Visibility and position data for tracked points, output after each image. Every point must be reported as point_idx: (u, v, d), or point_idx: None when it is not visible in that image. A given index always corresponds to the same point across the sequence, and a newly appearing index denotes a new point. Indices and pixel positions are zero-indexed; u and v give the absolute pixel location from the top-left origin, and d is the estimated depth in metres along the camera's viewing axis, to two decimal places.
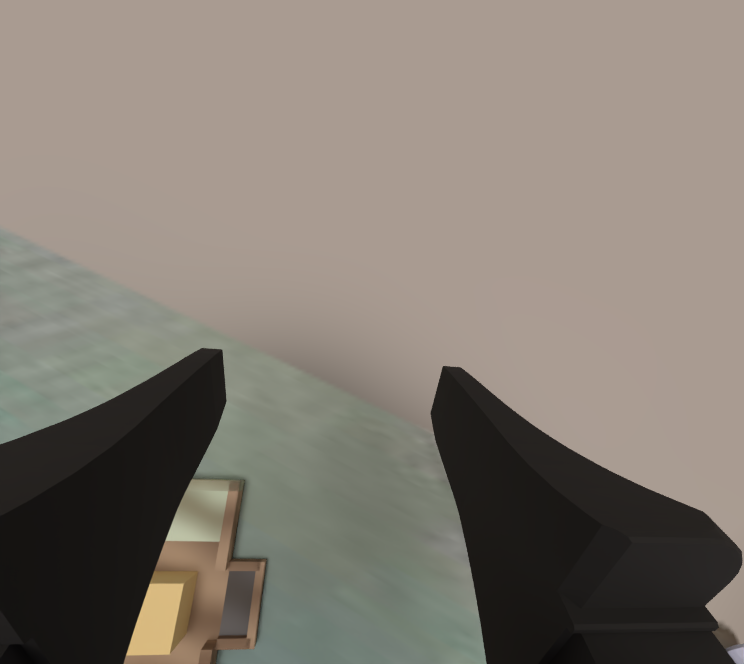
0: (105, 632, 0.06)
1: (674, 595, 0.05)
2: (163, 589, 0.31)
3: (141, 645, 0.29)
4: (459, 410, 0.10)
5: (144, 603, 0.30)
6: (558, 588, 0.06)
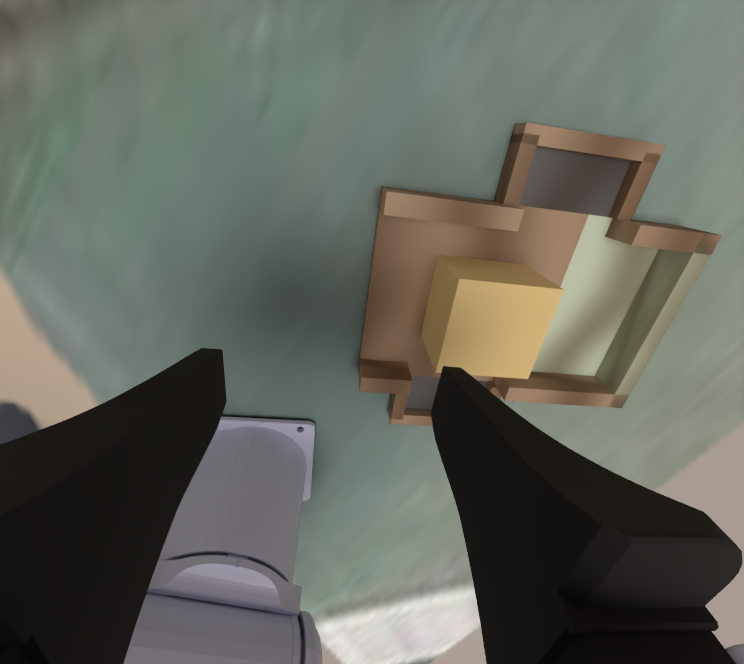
0: (105, 632, 0.06)
1: (674, 595, 0.05)
2: (530, 351, 0.17)
3: (459, 331, 0.16)
4: (459, 410, 0.10)
5: (519, 326, 0.17)
6: (558, 588, 0.06)
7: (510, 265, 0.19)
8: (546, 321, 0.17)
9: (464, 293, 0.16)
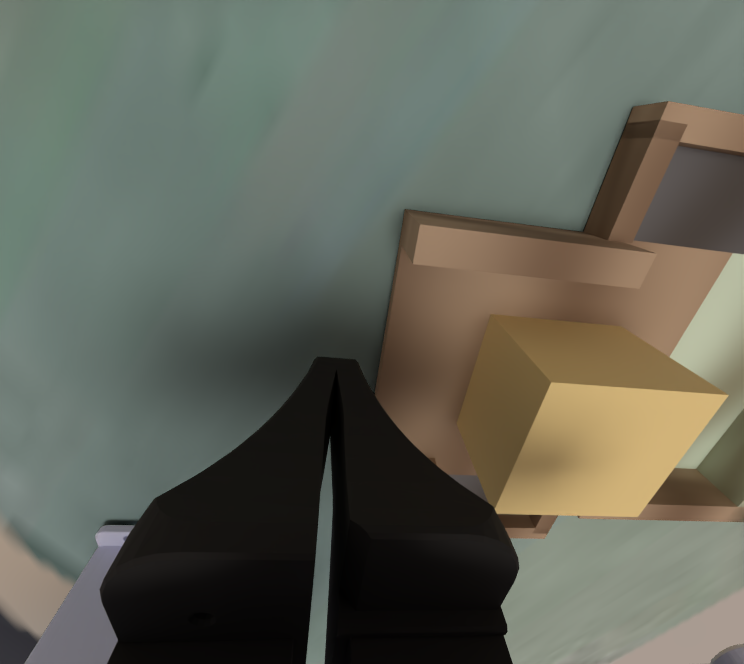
0: None
1: (456, 596, 0.05)
2: (649, 482, 0.10)
3: (538, 459, 0.10)
4: (336, 403, 0.09)
5: (640, 449, 0.10)
6: (341, 589, 0.05)
7: (604, 331, 0.12)
8: (686, 441, 0.10)
9: (556, 404, 0.09)
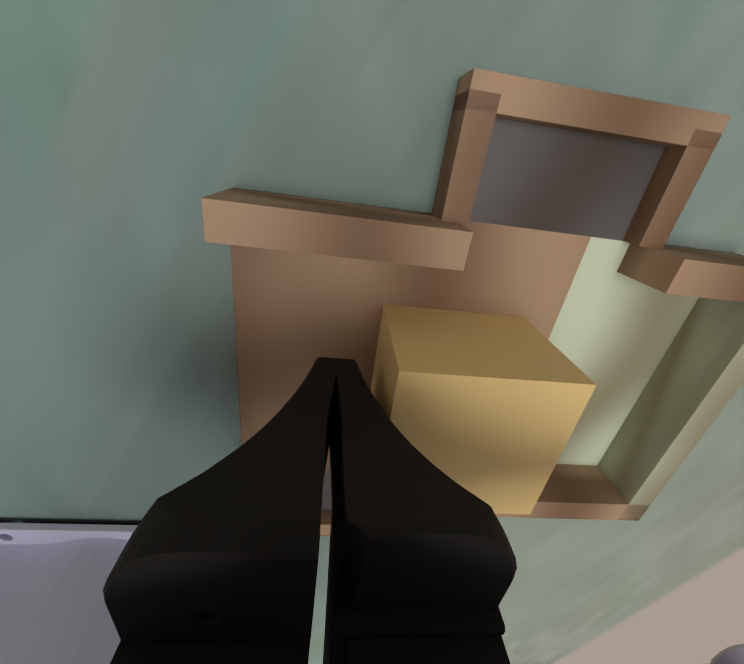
0: None
1: (453, 596, 0.05)
2: (534, 478, 0.10)
3: None
4: (335, 403, 0.09)
5: (515, 443, 0.09)
6: (339, 589, 0.05)
7: (500, 321, 0.11)
8: (562, 434, 0.09)
9: (410, 394, 0.08)
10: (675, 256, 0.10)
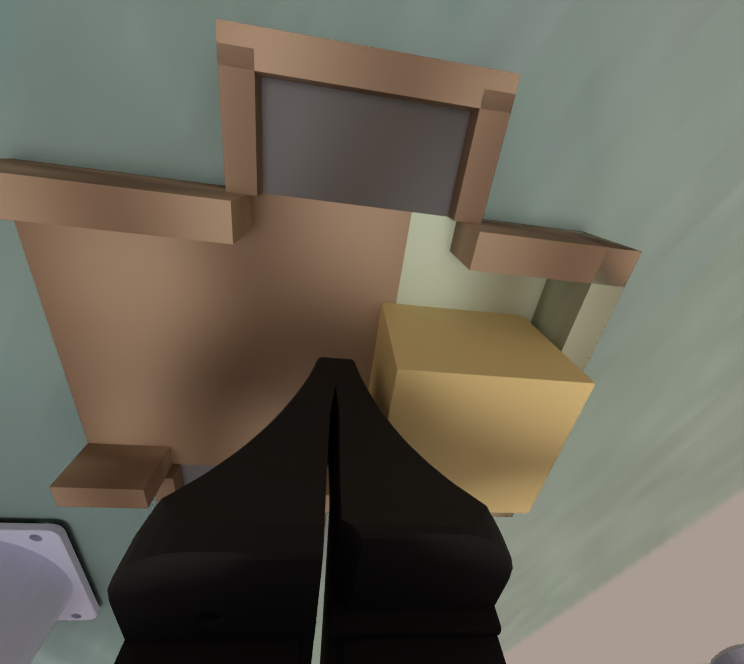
0: None
1: (449, 596, 0.05)
2: (532, 476, 0.10)
3: None
4: (333, 403, 0.09)
5: (513, 441, 0.09)
6: (334, 589, 0.05)
7: (499, 320, 0.11)
8: (561, 432, 0.09)
9: (409, 393, 0.08)
10: (476, 229, 0.09)
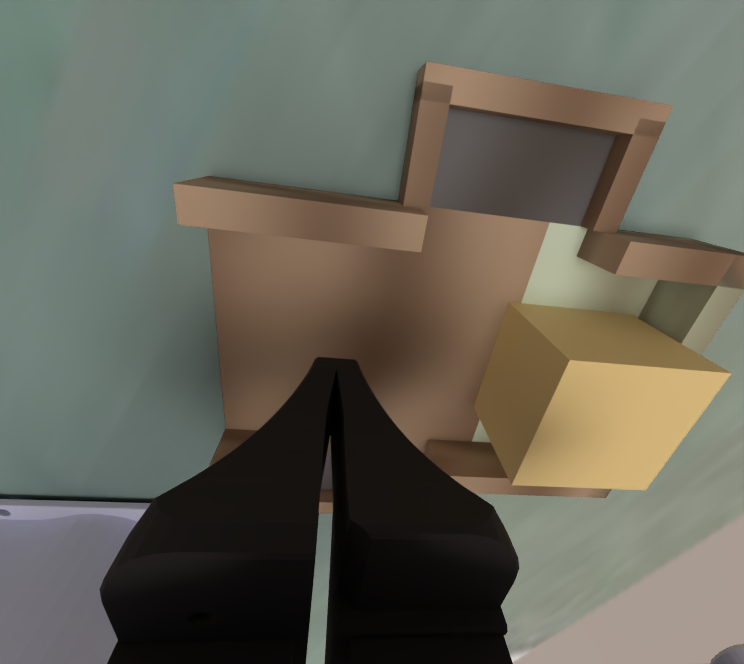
0: None
1: (456, 596, 0.05)
2: (657, 456, 0.11)
3: (555, 433, 0.11)
4: (337, 403, 0.09)
5: (649, 424, 0.11)
6: (341, 589, 0.05)
7: (615, 318, 0.13)
8: (692, 416, 0.11)
9: (573, 380, 0.10)
10: (623, 239, 0.10)
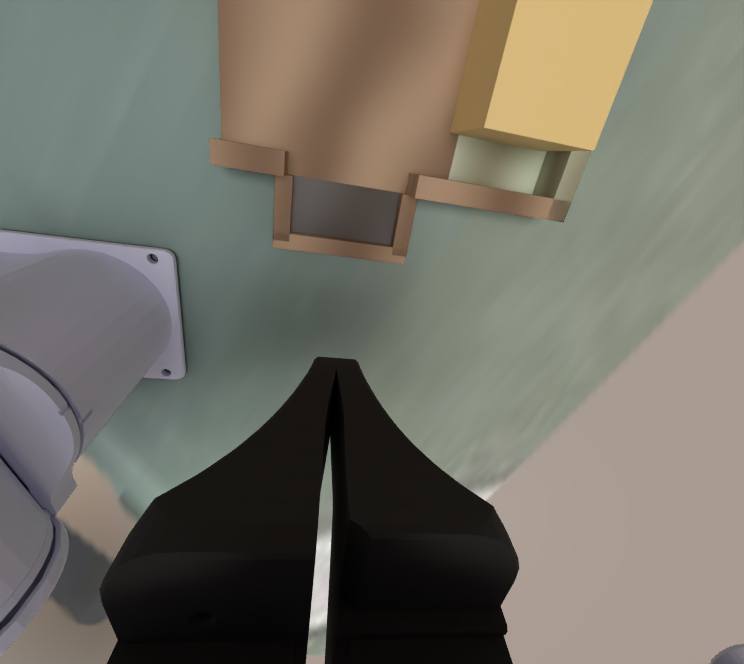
0: None
1: (456, 596, 0.05)
2: (602, 102, 0.14)
3: (520, 55, 0.12)
4: (336, 403, 0.09)
5: (594, 55, 0.13)
6: (341, 589, 0.05)
7: None
8: (627, 49, 0.13)
9: None
10: None
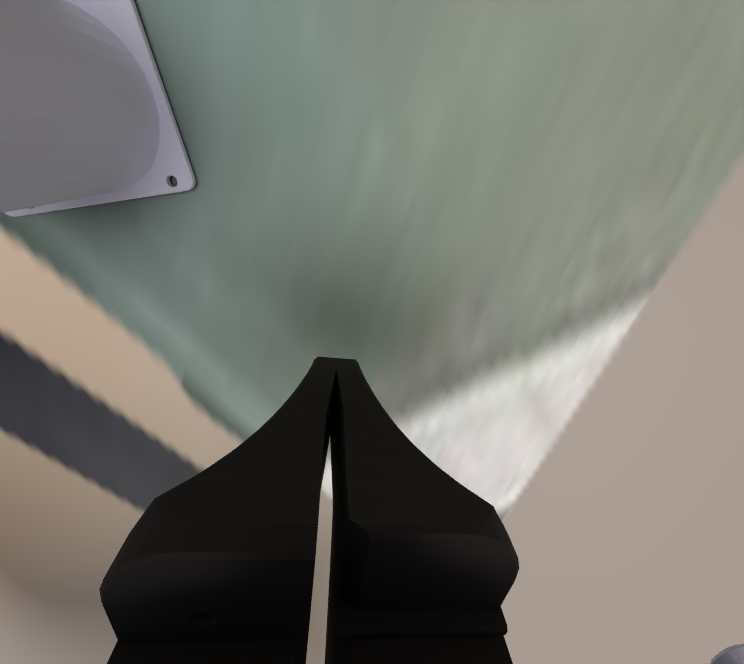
0: None
1: (456, 596, 0.05)
2: None
3: None
4: (336, 403, 0.09)
5: None
6: (341, 589, 0.05)
7: None
8: None
9: None
10: None
